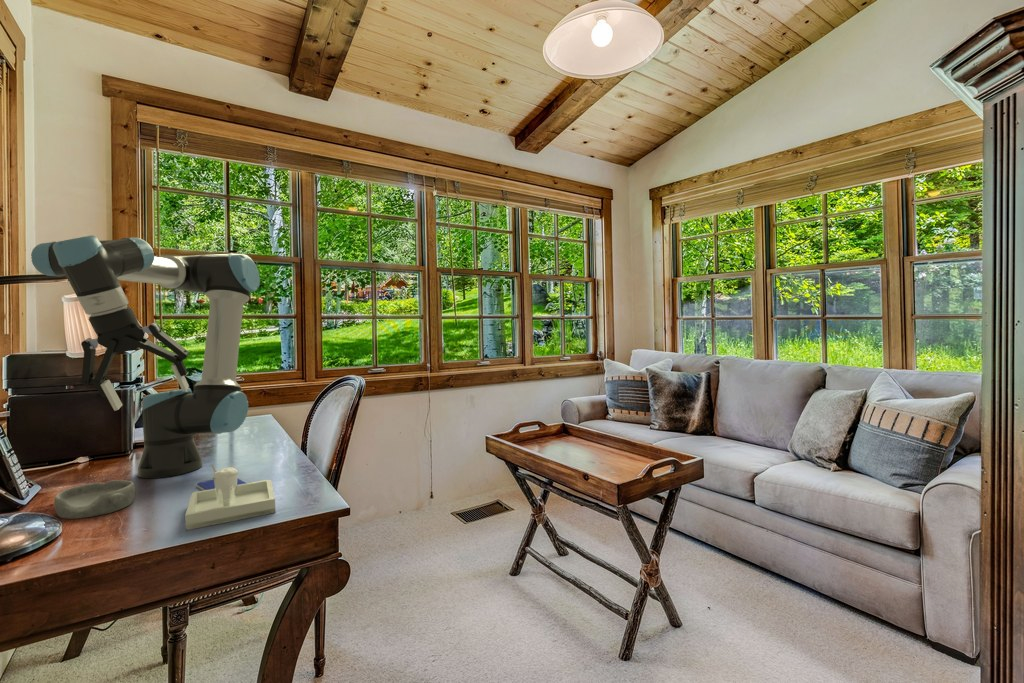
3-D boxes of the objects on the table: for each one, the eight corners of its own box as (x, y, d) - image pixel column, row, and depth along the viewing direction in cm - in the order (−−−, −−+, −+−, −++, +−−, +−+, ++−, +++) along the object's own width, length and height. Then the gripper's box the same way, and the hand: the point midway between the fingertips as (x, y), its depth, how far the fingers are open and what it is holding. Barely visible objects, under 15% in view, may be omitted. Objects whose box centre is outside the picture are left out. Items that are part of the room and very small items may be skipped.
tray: (193, 505, 109) (192, 492, 109) (271, 491, 117) (270, 479, 117) (186, 530, 95) (185, 515, 95) (275, 512, 103) (274, 498, 103)
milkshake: (222, 506, 105) (219, 461, 104) (244, 507, 104) (242, 461, 104) (206, 514, 100) (203, 467, 100) (229, 515, 100) (227, 467, 99)
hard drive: (196, 482, 123) (213, 492, 114) (231, 474, 129) (250, 483, 121) (197, 488, 123) (213, 499, 114) (232, 480, 129) (250, 489, 121)
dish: (131, 511, 107) (130, 489, 107) (47, 527, 99) (45, 503, 99) (139, 493, 119) (138, 473, 119) (64, 506, 112) (63, 485, 111)
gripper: (28, 331, 95) (81, 423, 102) (169, 298, 102) (209, 387, 109) (47, 322, 101) (96, 409, 109) (179, 292, 108) (215, 376, 116)
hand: (153, 398), depth 109 cm, fingers open, 13 cm apart
